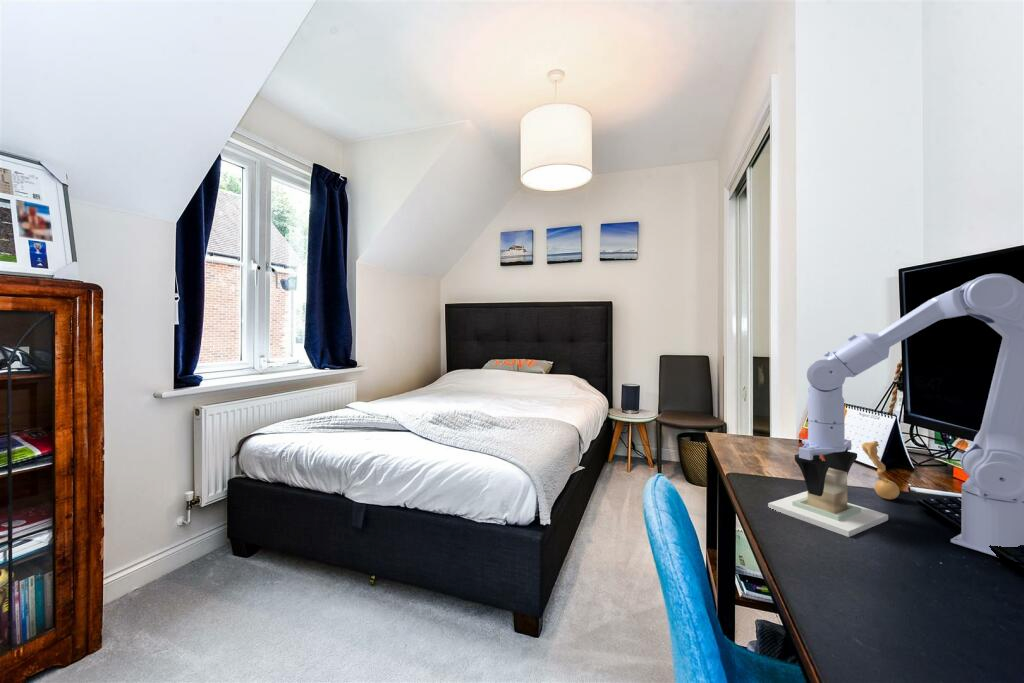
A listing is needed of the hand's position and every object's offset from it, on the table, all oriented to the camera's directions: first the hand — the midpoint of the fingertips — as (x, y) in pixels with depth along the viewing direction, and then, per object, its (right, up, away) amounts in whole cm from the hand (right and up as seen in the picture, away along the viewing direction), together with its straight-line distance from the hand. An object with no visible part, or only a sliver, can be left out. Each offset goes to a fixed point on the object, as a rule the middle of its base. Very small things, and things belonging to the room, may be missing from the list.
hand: (826, 490), depth 83 cm
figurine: (+17, -4, +8) cm, 20 cm away
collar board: (0, -5, 0) cm, 4 cm away
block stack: (0, -4, 0) cm, 4 cm away
